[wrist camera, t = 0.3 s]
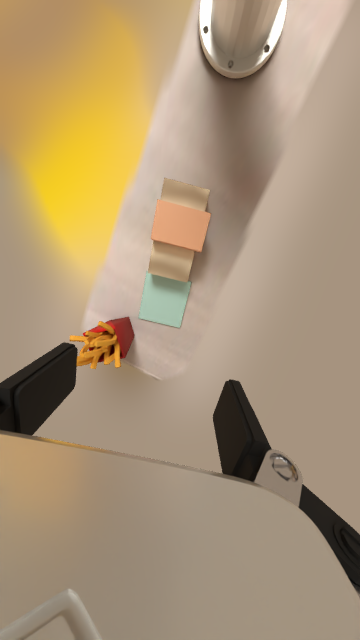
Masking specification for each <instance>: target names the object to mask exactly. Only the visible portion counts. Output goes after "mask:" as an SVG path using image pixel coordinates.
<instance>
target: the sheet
mask: <svg viewBox="0 0 360 640" xmlns="http://www.w3.org/2000/svg"><path fill="white" fill-rule="evenodd" d="M209 193H210V190H208V189H204V188H200V187H197V186H193V185H189V184H186V183H182V182H178V181H175V180H171V179H167V178H164V183H163V189H162V195H161V200H162V201H166V202H170V203H174V204H177V205H181V206H185V207H189V208H193V209H196V210H200V211H204V212H205V209H206V205H207V201H208V197H209ZM194 253H195V251H193V250H189V249H185V248H181V247H177V246H173V245H169V244H165V243H161V242H157V241H153V246H152V252H151V257H150V263H149V269H148V273H150V274H154V275H158V276H162V277H166V278H170V279H174V280H178V281H182V282H186V283H187V282H188V278H189V274H190V270H191V265H192V261H193V257H194Z"/></svg>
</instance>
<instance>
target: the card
mask: <svg viewBox="0 0 360 640" xmlns="http://www.w3.org/2000/svg"><path fill="white" fill-rule="evenodd" d="M210 216H211V213H208V212H204V211H200V210H196V209H193V208H189V207H185V206H181V205H177V204H174V203H170V202H166V201H162V200H159V199H158V200H157V206H156V212H155V218H154V224H153V229H152V235H151V239H152V240H153V241H157V242H161V243H165V244H169V245H173V246H177V247H181V248H185V249H189V250H193V251H196V252H201V251H202V247H203V243H204V239H205V235H206V232H207V228H208V224H209V220H210Z"/></svg>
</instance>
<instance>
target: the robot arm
mask: <svg viewBox="0 0 360 640" xmlns="http://www.w3.org/2000/svg"><path fill="white" fill-rule="evenodd" d="M286 11H287V0H201V2H200V11H199V34H200V41H201V45H202V49H203V51H204V54H205V56H206V58H207V60H208V61H209V63H210V65H211V66H212V67H213V68H214V69H215V70H216V71H217V72H219V73H220V74H222V75H224V76H226V77H229V78H243V77H246V76H249V75H251V74H253V73H254V72H256V71H257V70H259V69H260V68H261V67H262V66H263V65H264V64H265V63H266V61H267V60H268V59H269V57H270V56H271V54H272V53H273V51H274V49H275V47H276V45H277V43H278V40H279V38H280V35H281V33H282V30H283V26H284V23H285V17H286ZM76 367H77V348H76V347H75V345H74V344H69V343H62V344H60V345H59V346H57V347H56V348H54V349H53V350H51V351H49V352H48V353H46V354H45V355H43V356H42V357H40V358H38V359H37V360H35V361H34V362H32V363H31V364H29V365H28V366H26V367H24V368H23V369H21V370H20V371H18V372H17V373H15V374H14V375H12V376H10V377H9V378H7V379H6V380H4V381H3V382H1V383H0V640H360V535H359V534H358V533H357V532H356V531H355V530H354V529H353V528H352V527H351V526H350V525H349V524H348V523H346V522H345V521H344V520H343V519H342V518H341V517H340V516H338V515H337V514H336V513H335V512H334V511H333V510H332V509H330V508H329V507H328V506H327V505H326V504H325V503H324V502H323V501H321V500H320V499H319V498H318V497H317V496H316V495H315V494H313V493H312V492H311V491H310V490H309V489H307V487H305V486H304V485H303V484H302V475H301V472H300V471H299V469H298V467H297V466H296V464H295V463H294V462H293V461H292V460H291V459H290V458H289V457H288V456H287V455H285V454H284V453H282V452H280V451H278V450H273V449H271V447H270V445H269V443H268V441H267V438H266V436H265V434H264V432H263V430H262V428H261V426H260V424H259V421H258V419H257V417H256V415H255V413H254V411H253V409H252V407H251V405H250V403H249V401H248V399H247V397H246V395H245V392H244V390H243V388H242V386H241V384H240V382H239V381H235V380H229V381H226V382H225V385H224V387H223V390H222V393H221V395H220V398H219V401H218V403H217V406H216V409H215V411H214V414H213V422H214V427H215V433H216V439H217V444H218V450H219V456H220V461H221V467H222V472H223V474H221V473H216V472H212V471H207V470H203V469H198V468H194V467H189V466H184V465H179V464H174V463H170V462H164V461H159V460H155V459H150V458H145V457H140V456H135V455H130V454H125V453H120V452H115V451H110V450H104V449H100V448H95V447H89V446H84V445H79V444H74V443H69V442H63V441H58V440H53V439H48V438H42V437H37V436H32V435H33V434H34V433H35V432H36V431H37V429H38V428H39V427H40V426H41V425H42V424H43V423H44V421H46V419H47V418H48V417H49V416H50V415H51V414H52V413H53V411H54V410H55V409H56V408H57V407H58V406H59V405H60V404H61V403H62V402H63V400H64V399H65V398H66V397H67V396H68V395H69V394H70V392H71V391H72V390H73V389H74V387H75V382H76Z"/></svg>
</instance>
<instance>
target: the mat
mask: <svg viewBox="0 0 360 640" xmlns="http://www.w3.org/2000/svg"><path fill="white" fill-rule="evenodd" d="M190 286H191V282H189V281H188V282H187V283H186V282H182V281H178V280H174V279H170V278H166V277H162V276H158V275H154V274H150V273H148V271H147V272H146V278H145V284H144V289H143V295H142V301H141V307H140V312H139V318H140V319H144V320H148V321H152V322H157V323H161V324H165V325H169V326H174V327H178V328H180V325H181V321H182V317H183V314H184V310H185V306H186V302H187V298H188V294H189V290H190Z"/></svg>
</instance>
